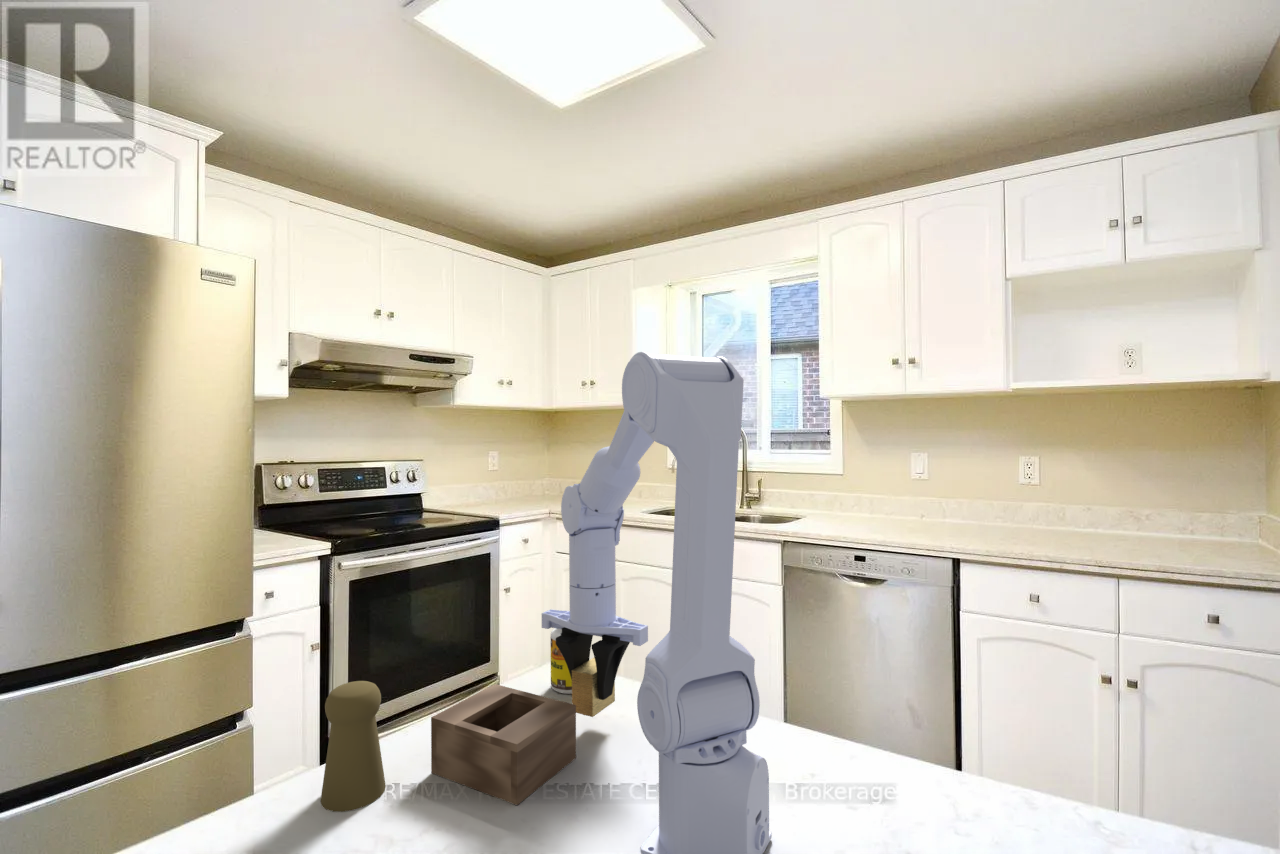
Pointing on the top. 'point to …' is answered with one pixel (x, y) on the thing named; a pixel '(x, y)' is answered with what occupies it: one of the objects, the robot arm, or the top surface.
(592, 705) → the block
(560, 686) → the supplement bottle
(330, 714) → the cork
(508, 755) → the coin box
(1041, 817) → the top surface
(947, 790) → the top surface
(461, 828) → the top surface
